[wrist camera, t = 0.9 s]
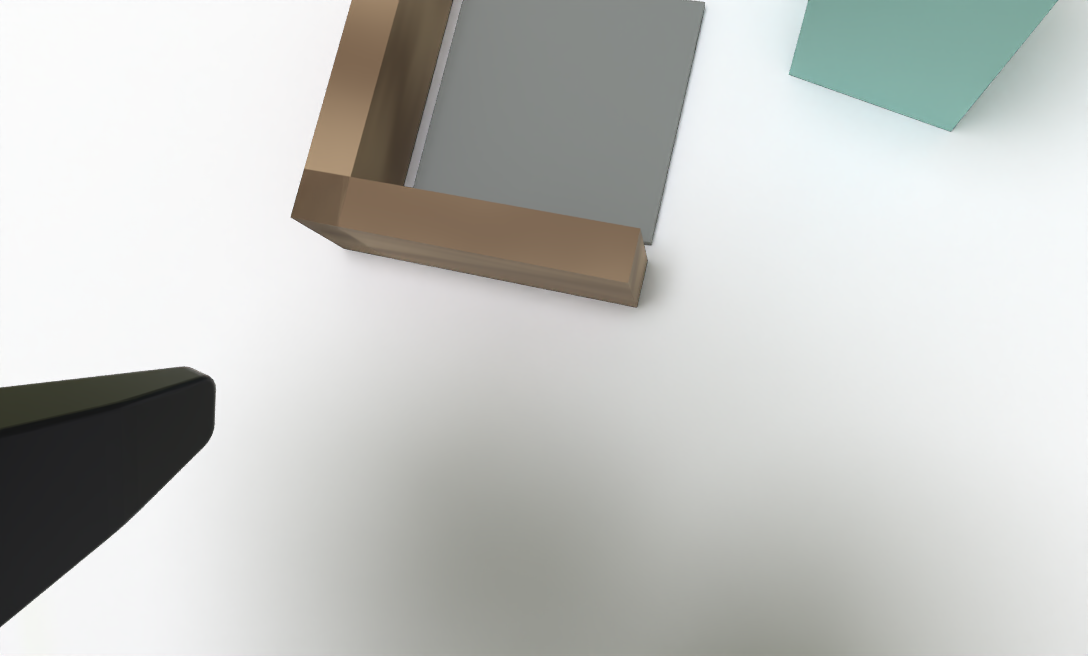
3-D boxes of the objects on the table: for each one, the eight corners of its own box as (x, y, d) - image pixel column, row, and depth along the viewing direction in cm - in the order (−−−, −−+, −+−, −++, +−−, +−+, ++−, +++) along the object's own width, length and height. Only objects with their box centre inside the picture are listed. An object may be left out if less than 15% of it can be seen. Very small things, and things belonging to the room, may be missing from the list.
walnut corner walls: (636, 307, 23) (628, 282, 20) (343, 248, 25) (290, 217, 22) (704, 7, 24) (707, -65, 21) (418, -25, 27) (378, -95, 23)
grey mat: (651, 245, 24) (650, 242, 23) (413, 201, 25) (410, 199, 25) (704, 7, 24) (705, 2, 24) (471, -19, 26) (469, -25, 26)
